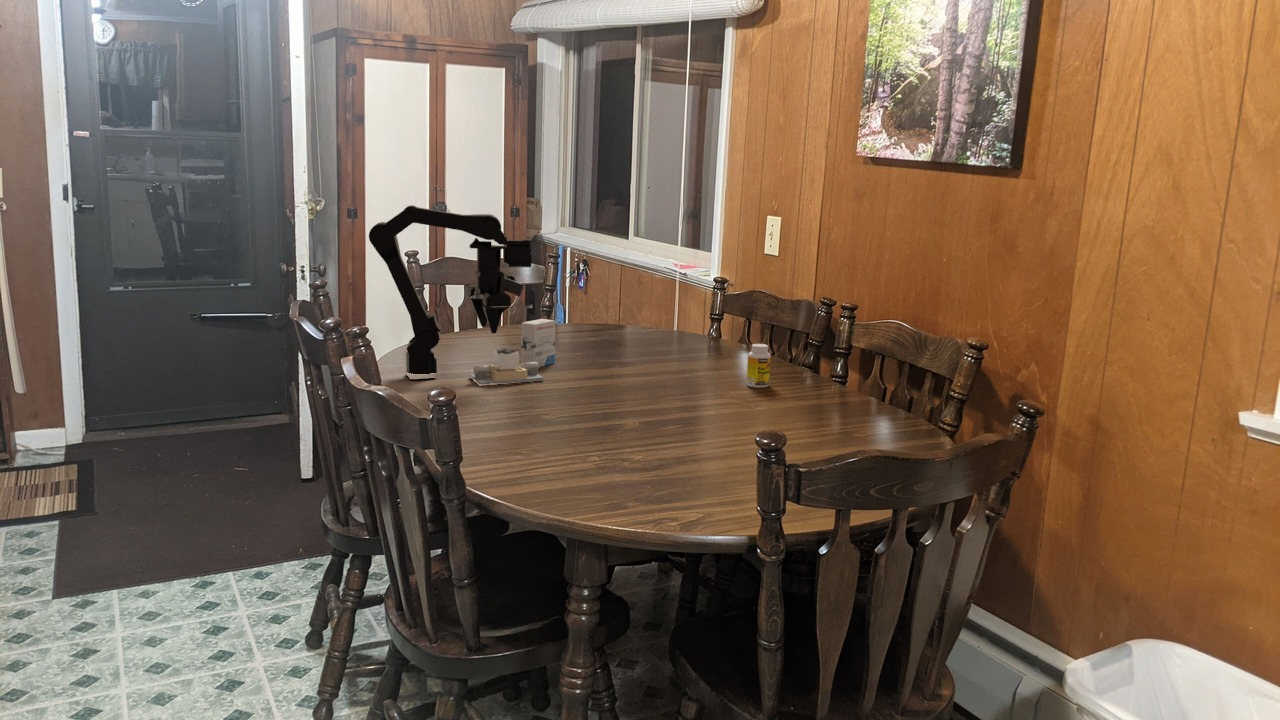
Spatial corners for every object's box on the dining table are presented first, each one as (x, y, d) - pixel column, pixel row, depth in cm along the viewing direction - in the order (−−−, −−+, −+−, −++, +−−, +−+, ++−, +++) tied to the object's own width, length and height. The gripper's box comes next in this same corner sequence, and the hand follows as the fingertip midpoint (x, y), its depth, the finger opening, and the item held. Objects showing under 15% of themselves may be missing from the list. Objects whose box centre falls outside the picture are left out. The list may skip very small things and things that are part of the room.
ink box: (542, 361, 268) (542, 318, 266) (556, 363, 265) (556, 320, 263) (519, 366, 261) (519, 322, 259) (534, 369, 258) (534, 324, 256)
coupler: (519, 377, 245) (519, 350, 243) (499, 378, 243) (499, 352, 241) (512, 372, 249) (512, 347, 248) (493, 374, 247) (493, 348, 246)
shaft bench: (480, 386, 239) (479, 370, 238) (469, 378, 247) (469, 362, 246) (543, 381, 245) (543, 365, 244) (531, 373, 253) (531, 358, 252)
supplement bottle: (756, 389, 242) (758, 348, 240) (741, 384, 247) (743, 344, 245) (773, 386, 245) (776, 346, 243) (759, 382, 250) (761, 342, 248)
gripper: (532, 271, 238) (531, 335, 242) (509, 262, 255) (509, 322, 258) (486, 271, 234) (486, 337, 237) (466, 262, 250) (466, 323, 254)
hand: (488, 329), depth 247 cm, fingers open, 9 cm apart
